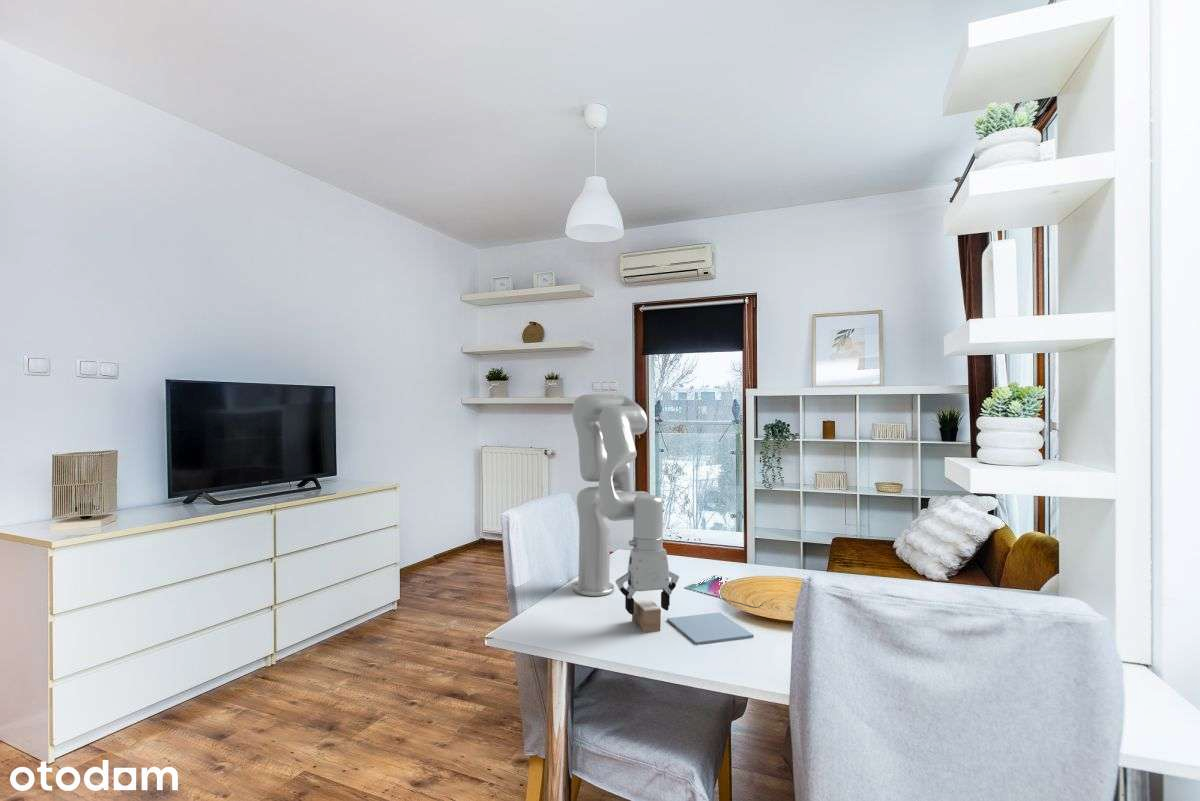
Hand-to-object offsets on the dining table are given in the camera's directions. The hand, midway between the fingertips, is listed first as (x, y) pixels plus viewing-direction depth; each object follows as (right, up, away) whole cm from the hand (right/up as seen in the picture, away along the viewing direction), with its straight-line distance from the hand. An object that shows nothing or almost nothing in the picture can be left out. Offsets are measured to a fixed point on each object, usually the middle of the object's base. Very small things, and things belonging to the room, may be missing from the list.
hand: (647, 610), depth 148 cm
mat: (+16, -5, 0) cm, 16 cm away
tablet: (+29, -6, +31) cm, 43 cm away
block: (0, -4, +1) cm, 4 cm away
